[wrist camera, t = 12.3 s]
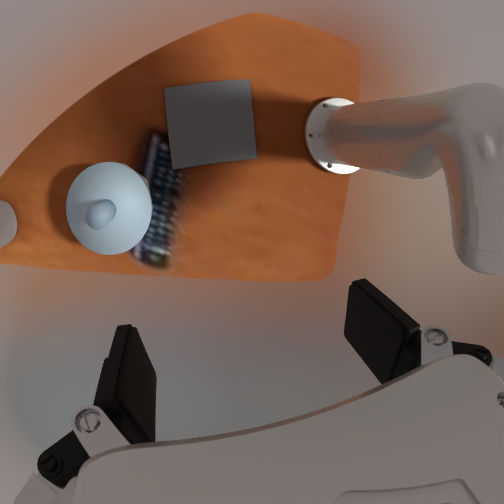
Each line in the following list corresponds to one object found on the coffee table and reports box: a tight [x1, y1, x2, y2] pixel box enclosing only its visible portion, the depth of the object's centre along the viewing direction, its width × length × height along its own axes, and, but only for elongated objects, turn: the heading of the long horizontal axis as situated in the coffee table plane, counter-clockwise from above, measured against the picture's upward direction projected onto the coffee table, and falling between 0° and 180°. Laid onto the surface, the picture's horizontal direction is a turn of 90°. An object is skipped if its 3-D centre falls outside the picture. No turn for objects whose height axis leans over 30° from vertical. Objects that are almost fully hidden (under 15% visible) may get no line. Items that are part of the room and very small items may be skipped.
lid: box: [66, 162, 152, 255], centre depth 29 cm, size 12×12×5 cm
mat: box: [164, 80, 257, 170], centre depth 34 cm, size 12×12×1 cm
